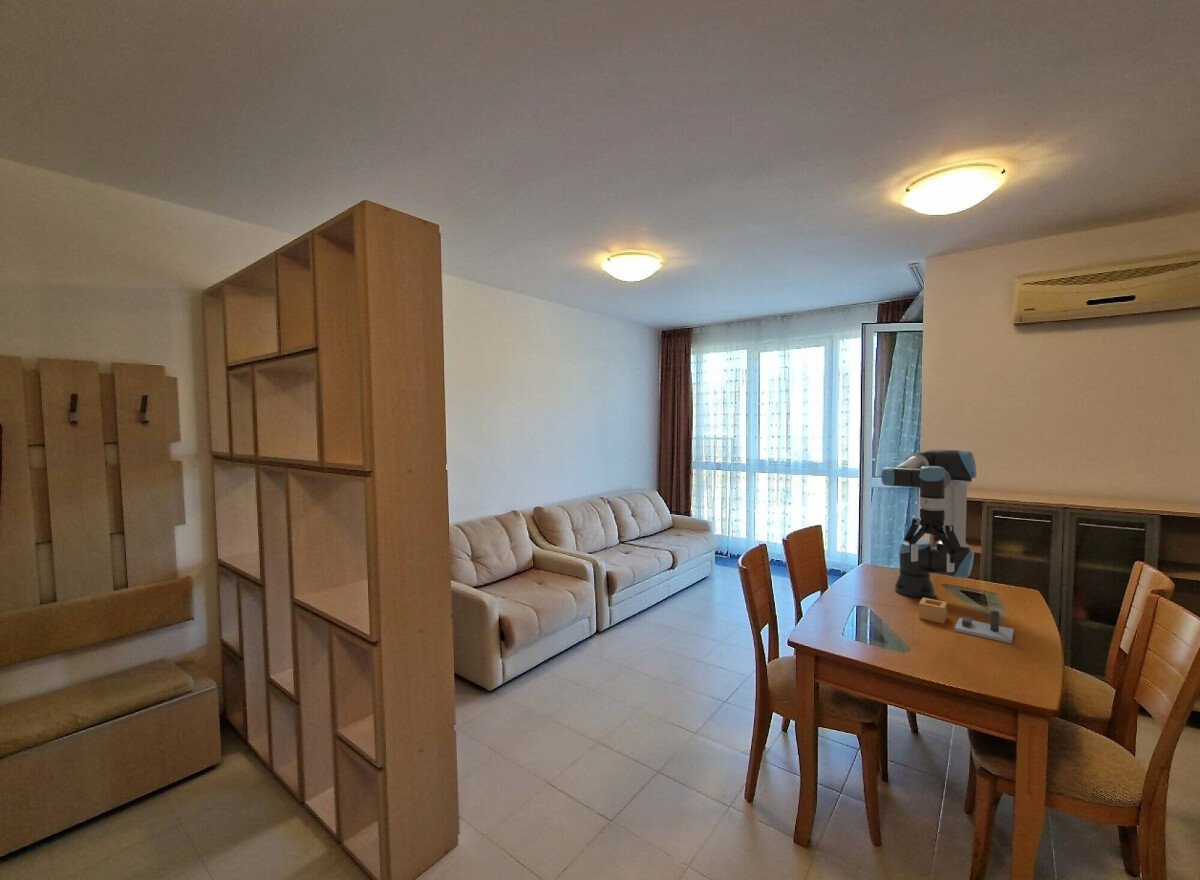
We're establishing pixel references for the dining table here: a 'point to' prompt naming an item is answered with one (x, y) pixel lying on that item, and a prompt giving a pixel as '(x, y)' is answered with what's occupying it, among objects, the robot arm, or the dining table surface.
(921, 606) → the link
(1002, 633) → the keeper board
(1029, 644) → the dining table surface
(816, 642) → the dining table surface
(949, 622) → the dining table surface
